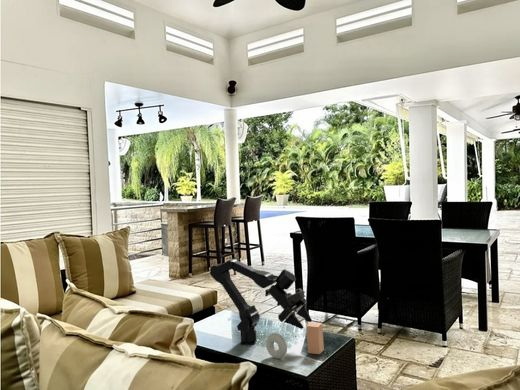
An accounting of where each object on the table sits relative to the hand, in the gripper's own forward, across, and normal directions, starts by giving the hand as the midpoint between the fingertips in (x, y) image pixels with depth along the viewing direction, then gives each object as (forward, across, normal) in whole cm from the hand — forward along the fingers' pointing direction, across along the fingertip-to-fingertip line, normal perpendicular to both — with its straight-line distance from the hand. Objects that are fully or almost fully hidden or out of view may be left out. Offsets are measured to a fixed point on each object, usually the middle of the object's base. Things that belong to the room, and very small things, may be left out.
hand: (307, 324), depth 167 cm
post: (+10, 0, +5) cm, 11 cm away
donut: (+1, -12, +14) cm, 18 cm away
